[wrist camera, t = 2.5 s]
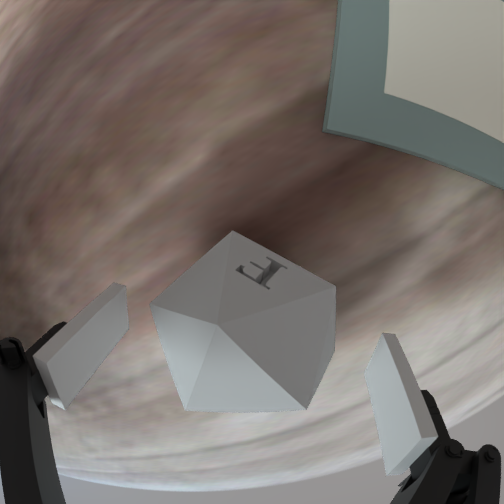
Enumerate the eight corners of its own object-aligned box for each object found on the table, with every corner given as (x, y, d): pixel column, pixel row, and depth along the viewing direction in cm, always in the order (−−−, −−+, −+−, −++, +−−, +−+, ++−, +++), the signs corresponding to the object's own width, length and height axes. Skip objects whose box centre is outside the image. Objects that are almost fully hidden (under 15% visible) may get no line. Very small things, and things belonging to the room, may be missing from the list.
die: (355, 307, 18) (395, 270, 9) (282, 422, 17) (252, 491, 7) (247, 248, 21) (195, 171, 12) (180, 354, 20) (82, 353, 10)
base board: (322, 131, 14) (327, 128, 12) (342, -70, 9) (345, -86, 7) (526, 201, 13) (544, 208, 11) (527, 18, 8) (541, 12, 6)
